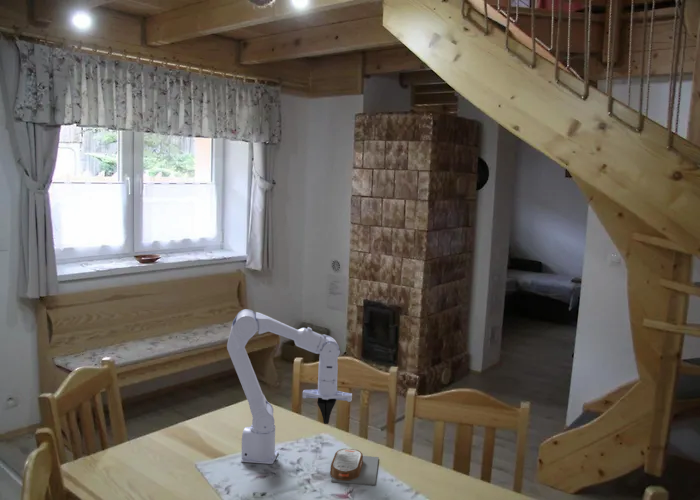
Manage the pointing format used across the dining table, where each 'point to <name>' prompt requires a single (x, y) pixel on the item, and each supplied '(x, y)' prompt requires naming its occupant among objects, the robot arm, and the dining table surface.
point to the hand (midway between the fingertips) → (326, 422)
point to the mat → (364, 472)
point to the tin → (346, 464)
